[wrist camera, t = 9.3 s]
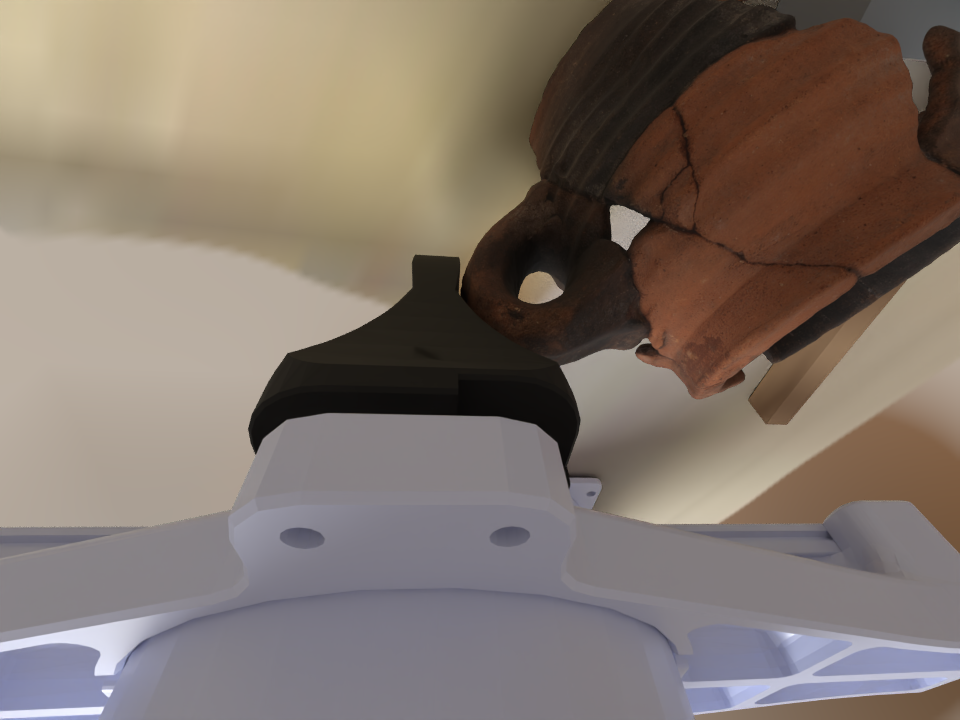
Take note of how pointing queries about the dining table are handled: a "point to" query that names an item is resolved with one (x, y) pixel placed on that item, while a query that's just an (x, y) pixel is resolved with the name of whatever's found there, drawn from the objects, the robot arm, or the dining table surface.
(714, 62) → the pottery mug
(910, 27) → the dome box
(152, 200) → the dining table surface
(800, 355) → the rail
